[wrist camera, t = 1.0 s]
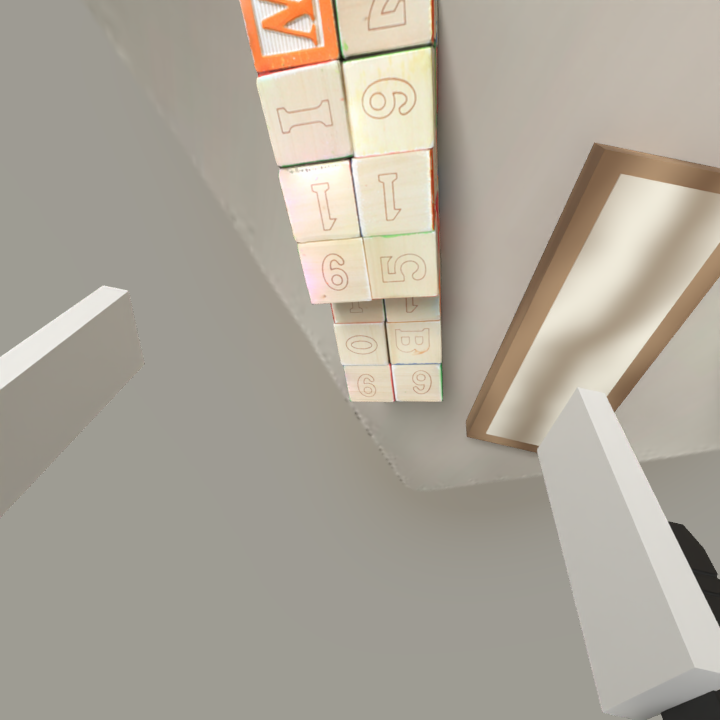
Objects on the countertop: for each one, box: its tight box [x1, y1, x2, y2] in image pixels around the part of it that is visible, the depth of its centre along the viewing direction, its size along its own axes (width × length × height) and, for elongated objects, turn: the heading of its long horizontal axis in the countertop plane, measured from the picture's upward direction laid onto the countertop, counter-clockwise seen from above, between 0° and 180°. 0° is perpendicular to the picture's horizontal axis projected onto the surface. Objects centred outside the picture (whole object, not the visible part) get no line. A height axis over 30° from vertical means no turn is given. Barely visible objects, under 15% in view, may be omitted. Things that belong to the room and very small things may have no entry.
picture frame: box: [466, 143, 720, 453], centre depth 30 cm, size 10×24×2 cm, turn 171°
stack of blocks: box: [239, 0, 443, 402], centre depth 23 cm, size 21×6×12 cm, turn 8°
